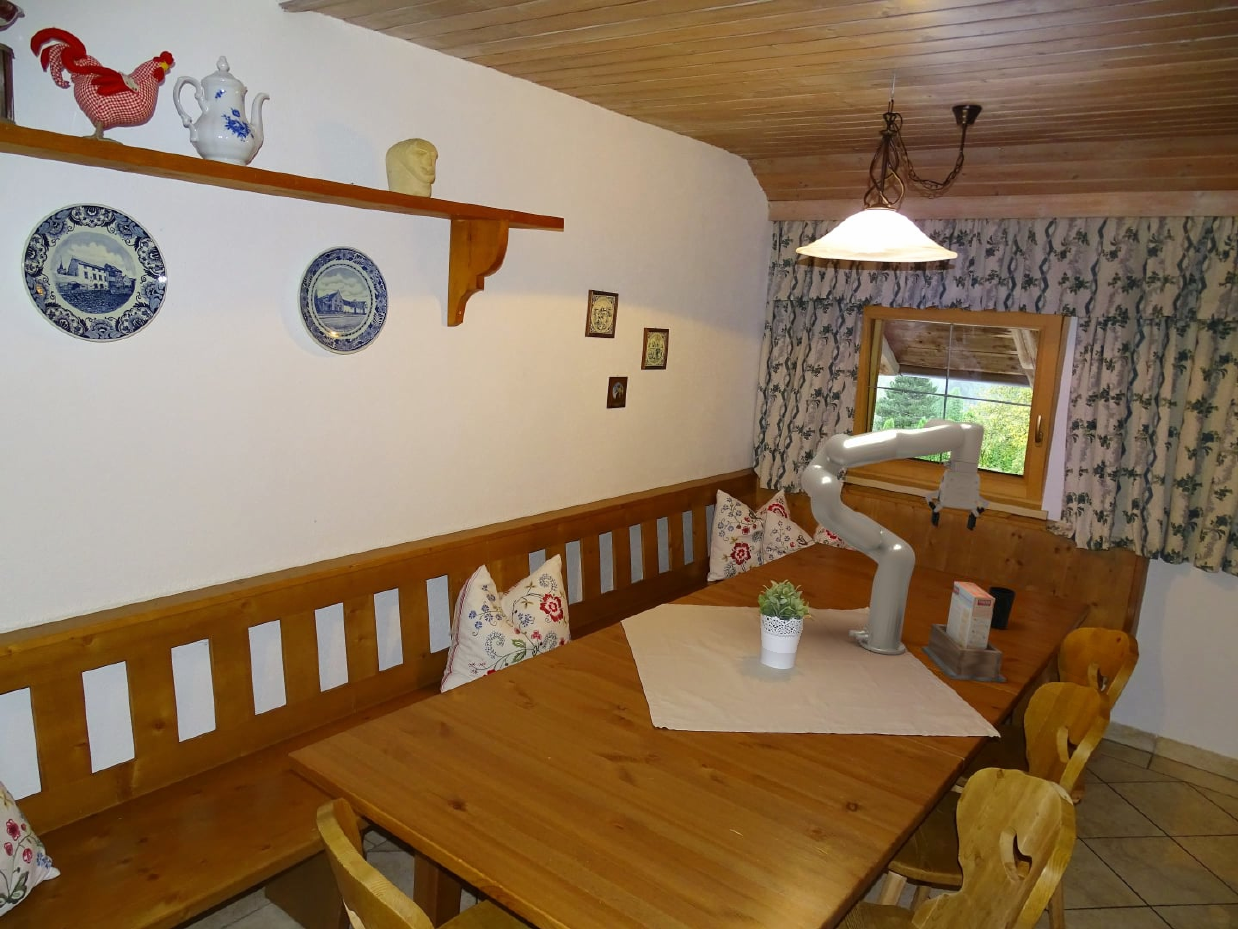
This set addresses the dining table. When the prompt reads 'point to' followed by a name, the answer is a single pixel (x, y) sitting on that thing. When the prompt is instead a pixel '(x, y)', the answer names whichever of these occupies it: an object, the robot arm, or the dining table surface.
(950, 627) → the cracker box
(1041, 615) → the dining table surface
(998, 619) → the cup
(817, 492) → the robot arm
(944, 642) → the box stand
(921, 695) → the dining table surface
